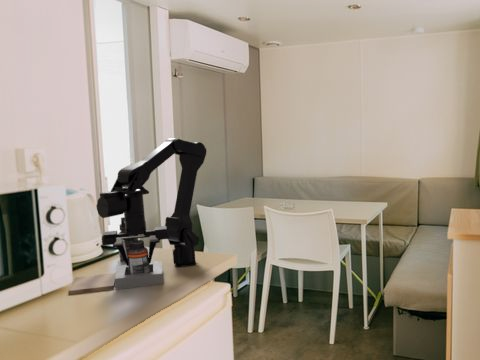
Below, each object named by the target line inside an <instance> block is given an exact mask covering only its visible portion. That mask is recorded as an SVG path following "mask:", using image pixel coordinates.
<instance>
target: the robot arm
mask: <svg viewBox="0 0 480 360" xmlns="http://www.w3.org/2000/svg"><path fill="white" fill-rule="evenodd" d="M173 155H178V156H179V157H178V160H179V163H180V166H181V172H180V179H179V184H178V189H177V194H176V199H175V204H174V205H175V206H174V211H173V213H172V214H171V216H167V217H166V218H165V223H164V226H163V225H162V226H161V225H160V226H154V229H153V230H147V222H146V216H145V215H146V213H145V206H144V205H145V202H144V195H148V194H149V193H150V191H149V190H148V189H146V188H145V187H144V185H145V184H146V183H147V182H148V181H149V179H150V177H151V174H152V173H153V172H154V171H155V170H156V169H157V168H159V167H160V166H161V165H162V164H163V163H165V162H166V161H167V160H168V159H170V158H171V157H172V156H173ZM206 156H207V148H206V146H205V144H203V142H199V141H198V142H197V141H196V142H194V141H193V142H191V141H187V140H183V139H180V138H179V137H178V138H177V137H176V138H175V137H172V138H167V139H166V140H164V142H163V143H162V144H161V145H159V146H158V147H156V148H155V149H154V150H153V151H151V152H150V153H148V154H147V155H145V157H143V158H142V159H141V160H139V161H137V162H133V163H132V164H129V165H126V166H125V167H123V168H121V169H120V170H118V173H117V177H116V179H115V181H114V184H113V186H112V187H111V190H110V191H109V192H100V193H99V198H97V201H96V211H97V214H98V215H99V216H100V218H102V219H105V218H110V217H115V216H120V215H124V217H120V224H121V227H122V229H126V233H121V234H119V232H118V230H111V231H104V233H103V234H102V236H101V242H102V243H101V244H102V246H110V245H112V248H116V249H117V250H118V253H119V252H120V253H121V255H122V257H123V259H124V262H125V265H127V266H128V257H127V252H126V248H125V242H124V240H126V239H136V238H138V239H143V238H149V241H148V242H149V245H148V257H149V263H151V262H152V258H153V254H154V251H155V248H156V246H157V244H160V242H161V240H167V241H168V244H169V245H171V246H173V249H172V261H173V264H174V266H175V268H179V267H180V268H181V267H188V266H196V265H197V260H196V250H195V247H196V246H198V245H199V244H200V243H199V242H200V237H199V236H197V234H195V232H193V222H192V219H191V209H192V204H193V203H192V202H193V197H194V192H195V186H196V181H197V175H198V171H199V169H200V168H201V167H202V166H203V164H204V162H205V160H206ZM131 235H132V236H131ZM133 235H134V236H133Z"/></svg>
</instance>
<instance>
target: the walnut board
mask: <svg viewBox="0 0 480 360" xmlns="http://www.w3.org/2000/svg"><path fill="white" fill-rule="evenodd" d="M115 275H116V272H111V273H103V274H93V275H85V276H84V275H83V276H77V277H76V276H75V277H74V278H73V281H72V282H71V285H70V287H69V289H68V292H67V293H68V295H74V294H83V293H92V292H93V293H94V292H100V291H109V290H114V289H115Z"/></svg>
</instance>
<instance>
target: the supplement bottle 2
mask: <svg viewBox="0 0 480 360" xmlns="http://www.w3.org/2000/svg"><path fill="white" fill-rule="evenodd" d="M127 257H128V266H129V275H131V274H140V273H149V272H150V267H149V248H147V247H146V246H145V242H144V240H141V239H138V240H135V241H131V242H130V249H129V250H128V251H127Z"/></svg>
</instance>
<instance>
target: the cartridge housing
mask: <svg viewBox="0 0 480 360" xmlns="http://www.w3.org/2000/svg"><path fill="white" fill-rule="evenodd" d="M162 266H163V265H162V261H161V260H159V261H151V263H149V267H150V272H149V273H140V274H131V275H129V266H127V265H126V264H121V265H117V268H116V272H115V273H116V275H115V287H114V289H115V290H121V289H123V290H124V289H131V288H141V287H149V286H156V285H163V284H164V279H163V267H162Z"/></svg>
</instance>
